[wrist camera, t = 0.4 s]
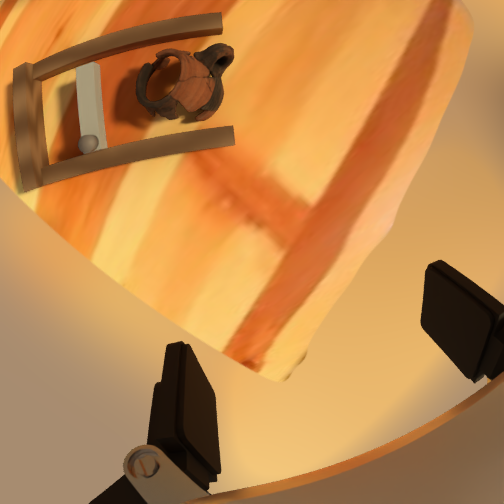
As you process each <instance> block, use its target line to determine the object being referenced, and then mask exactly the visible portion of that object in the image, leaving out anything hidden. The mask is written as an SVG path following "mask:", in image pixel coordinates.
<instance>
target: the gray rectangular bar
mask: <svg viewBox="0 0 504 504" xmlns="http://www.w3.org/2000/svg"><path fill="white" fill-rule="evenodd" d="M76 84H77V100H78V112H79V122H80V131H81V138H80V139H79V142H78V148H79V150H80V151H81V152H83V154H86V153H91V152H95V151H98V150H102V149H106V148H108V147H107V140H106V132H105V124H104V114H103V104H102V92H101V76H100V65H99V64H97V63H95V62H91V63H88V64H85V65H82V66H79V67H77V68H76Z"/></svg>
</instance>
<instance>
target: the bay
mask: <svg viewBox="0 0 504 504" xmlns="http://www.w3.org/2000/svg"><path fill="white" fill-rule="evenodd" d="M222 31H223V24H222V15H221V12H219V13H209V14H200V15H192V16H185V17H179V18H173V19H168V20H162V21H157V22H153V23H148V24H144V25H140V26H136V27H132V28H128V29H124V30H121V31H117V32H114V33H110V34H107V35H104V36H101V37H98V38H95V39H92V40H89V41H86V42H84V43H81V44H78V45H76V46H73V47H71V48H68V49H66V50H63V51H61V52H58V53H56V54H54V55H52V56H49V57H47V58H45V59H43V60H41V61H39V62H37V63H35V64H30V63H27V62H25V63H24V64H22V65H20V66H18V67H16V68H14V69H13V108H14V124H15V135H16V144H17V152H18V160H19V166H20V172H21V178H22V183H23V189H24V192H27V191H30V190H33V189H36V188H38V187H41V186H44V185H47V184H50V183H53V182H56V181H60V180H63V179H67V178H70V177H74V176H77V175H81V174H85V173H88V172H92V171H96V170H100V169H104V168H108V167H112V166H117V165H121V164H126V163H130V162H135V161H140V160H144V159H149V158H155V157H160V156H165V155H171V154H177V153H183V152H189V151H196V150H202V149H209V148H217V147H225V146H233V145H235V138H234V129H233V126H225V127H217V128H209V129H202V130H195V131H189V132H182V133H177V134H171V135H165V136H160V137H155V138H150V139H145V140H140V141H136V142H131V143H127V144H122V145H118V146H114V147H110V148H106V149H102V150H99V151H95V152H91V153H88V154H84V155H81V156H77V157H74V158H71V159H67V160H64V161H61V162H58V163H55V164H52V165H49V160H48V153H47V146H46V138H45V128H44V118H43V104H42V81H43V80H46V79H48V78H50V77H53V76H55V75H57V74H60V73H62V72H65V71H67V70H70V69H72V68H75V67H78V66H80V65H83V64H86V63H89V62H92V61H95V60H98V59H101V58H104V57H107V56H111V55H114V54H118V53H121V52H125V51H129V50H132V49H136V48H141V47H145V46H149V45H154V44H159V43H164V42H169V41H175V40H181V39H187V38H194V37H201V36H210V35H219V34H222Z"/></svg>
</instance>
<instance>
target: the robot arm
mask: <svg viewBox="0 0 504 504" xmlns="http://www.w3.org/2000/svg"><path fill="white" fill-rule="evenodd" d="M421 326H422V328H423V330H424V331H425V332H426V333H427V334H428V335H429V336H430V337H431V338H432V339H433V340H434V342H435V343H436V344H437V345H438V346H439V347H440V348H441V349H442V350H443V351H444V353H445V354H446V355H447V356H448V357H449V358H450V359H451V360H452V361H453V363H454V364H455V365H456V366H457V367H458V369H459V370H460V371H461V372H462V373H463V374H464V376H465V377H466V378H468V379H471V380H472V381H473V382H474V383H476V382H477V381H479V380H480V379H482V378H483V377H484V375H486V376H487V385H485V386H484V387H483V388H481V389H480V390H478V391H477V392H476V393H475V394H473V395H471V396H470V397H468V398H467V399H466V400H464V401H463V402H461V403H459V404H458V405H456V406H455V407H453V408H452V409H450V410H449V411H447V412H445V413H444V414H442V415H440V416H439V417H437V418H435V419H434V420H432V421H430V422H428V423H426V424H425V425H423V426H421V427H419V428H417V429H415V430H413V431H411V432H410V433H408V434H406V435H404V436H402V437H400V438H398V439H395V440H393V441H391V442H389V443H387V444H385V445H382V446H380V447H378V448H376V449H373V450H371V451H369V452H366V453H364V454H361V455H359V456H356V457H354V458H351V459H348V460H346V461H343V462H340V463H337V464H335V465H332V466H329V467H326V468H322V469H319V470H316V471H313V472H309V473H306V474H302V475H299V476H295V477H291V478H288V479H284V480H280V481H276V482H271V483H267V484H262V485H258V486H253V487H248V488H242V489H238V490H233V491H227V492H222V493H217V494H213V495H211V494H210V493H209V492H208V491H207V490H208V489H209V483H210V482H217V474H220V473H221V463H220V451H219V440H218V439H219V438H218V425H217V411H216V397H215V393H214V390H213V389H212V387H211V385H210V383H209V381H208V379H207V377H206V376H205V373H204V372H203V370H202V368H201V366H200V364H199V362H198V360H197V358H196V356H195V354H194V352H193V350H192V348H191V346H190V345H189V344H184V342H182V341H180V342H176V343H171V344H168V345H167V347H166V352H165V359H164V366H163V373H162V380H161V382H157V383H156V384H155V387H154V392H153V400H152V407H151V414H150V422H149V430H148V439H147V445H141V446H138V447H136V448H134V449H132V450H131V451H130V452H129V453H128V454H127V456H126V458H125V459H124V463H123V468H124V473H125V475H123V476H122V477H121V478H120V479H119V480H117V481H116V482H115V483H114V484H113V485H111V486H110V487H109V488H108V489H106V490H105V491H104V492H103V493H101V494H100V495H99V496H97V497H96V498H95V499H93V500H92V501H91V502H90V503H89V504H504V305H503V304H501V303H500V302H499V301H498V300H497V299H495V298H494V297H493V296H491V295H490V294H489V293H487V292H486V291H485V290H483V289H482V288H481V287H479V286H478V285H477V284H475V283H474V282H473V281H471V280H470V279H469V278H467V277H466V276H464V275H463V274H461V273H460V272H459V271H457V270H456V269H454V268H453V267H451V266H450V265H448V264H447V263H446V262H444V261H442V260H438V261H435V262H433V263H431V264H429V265H428V267H427V269H426V271H425V282H424V294H423V304H422V313H421Z"/></svg>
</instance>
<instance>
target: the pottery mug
mask: <svg viewBox="0 0 504 504" xmlns="http://www.w3.org/2000/svg"><path fill="white" fill-rule="evenodd" d="M189 55H190V52H187V51H179V50H176V49H165V50H162V51H160V52H158V53H157V54H156V57H157V58H158V59H157V60H156V61H155V62H154V63H153V64H152V65H151V64H150V63H146V64H144V66H143V67H142V69H141V71H140V73H139V75H138V78H137V81H136V95H137V99H138V101H139V102H140V103H141V104H142V105H143V106H145V107H146V109H147V111H148V112H149V113H150V114H151V115H152V116H153V117H154V116H155V111H156V112H157V113H158V114H159V115H160V116H163V117H166V118H167V119H169V120H172V119H177V118H178V115H177V114H176V113H175V112H176V105H177V101H179V103H180V104H181V105H182V106H183V107H184V108H185V109H186V110H187V111H188V112H189V111H190V112H194V111H196V110H197V109H199V108H200V109H202V110H204V111H203V112H202V113H201V114H199V115H198V116H196V117H195V119H196V120H197V121H205V120H206V119H208V118H210V117H211V116H212V115H213V114H214V113H215V112H216V111H217V110H218V108H219V106H220V105H221V103H222V99H223V95H224V90H223V85H222V81H221V76H222V74H223V72H224V71H225V69H226V68H227V67H228V66H229V65H230V64H231V63H232V61H233V59H234V49H233V48H232V47H231V46H227V45H226V44H223V43H218V44H214V45H212V46H210V47H208V48H207V49H205V50H204V51H201V52H195V53H194V57H193V56H189ZM169 56H175V57H177V58H178V59H179V61H180V64H181V72H180V77H179V80H178V82H177V84H176V86H175V87H174V89H173V90H172V91H171V92H170V94H169V95H167V96H166V97H165V98H163V99H161V100H159V101H155V102H151V101H149V100H148V99H147V97H146V86H147V82H148V80H149V78H150V76H151V75H152V74H153V72H154V71H155V70H156V69H164V68H165V67H166V66H167V64H168V63H169V61H170V59H169V58H167V57H169ZM209 74H211V75H212V77H208V76H209Z"/></svg>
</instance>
